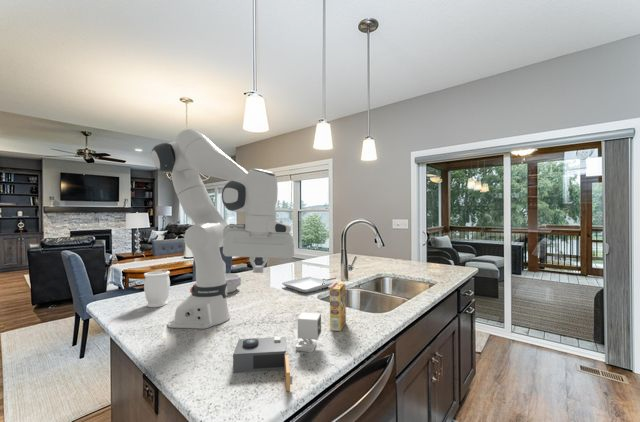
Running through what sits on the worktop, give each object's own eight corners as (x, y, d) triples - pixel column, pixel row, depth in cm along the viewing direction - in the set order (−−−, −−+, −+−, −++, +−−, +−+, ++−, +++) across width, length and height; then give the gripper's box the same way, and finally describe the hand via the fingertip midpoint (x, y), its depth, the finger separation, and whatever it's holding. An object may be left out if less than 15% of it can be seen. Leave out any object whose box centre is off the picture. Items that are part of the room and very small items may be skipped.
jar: (138, 306, 131) (138, 273, 131) (159, 300, 141) (158, 269, 141) (155, 309, 127) (155, 275, 127) (175, 302, 137) (174, 271, 137)
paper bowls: (236, 294, 149) (236, 279, 149) (206, 294, 149) (206, 279, 149) (244, 287, 164) (244, 273, 164) (217, 287, 164) (217, 273, 164)
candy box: (340, 332, 103) (340, 288, 103) (329, 330, 104) (329, 288, 104) (346, 322, 111) (346, 282, 111) (335, 321, 112) (335, 282, 112)
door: (292, 390, 69) (292, 371, 69) (286, 391, 69) (286, 372, 69) (290, 369, 79) (290, 352, 79) (284, 369, 78) (284, 352, 78)
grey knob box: (233, 372, 77) (232, 350, 77) (239, 355, 86) (238, 336, 86) (285, 369, 79) (285, 347, 79) (286, 353, 88) (286, 333, 88)
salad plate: (280, 288, 163) (280, 281, 163) (309, 281, 177) (309, 275, 177) (304, 296, 147) (304, 289, 147) (334, 288, 162) (334, 282, 162)
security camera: (317, 353, 87) (317, 320, 87) (295, 351, 89) (294, 318, 89) (321, 343, 94) (321, 312, 94) (300, 341, 95) (300, 311, 95)
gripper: (221, 224, 79) (218, 274, 80) (295, 227, 82) (293, 275, 82) (226, 222, 86) (223, 269, 86) (295, 225, 88) (292, 270, 88)
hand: (258, 272), depth 84 cm, fingers closed
